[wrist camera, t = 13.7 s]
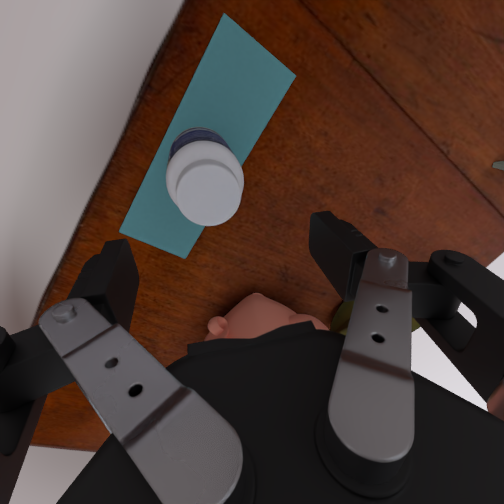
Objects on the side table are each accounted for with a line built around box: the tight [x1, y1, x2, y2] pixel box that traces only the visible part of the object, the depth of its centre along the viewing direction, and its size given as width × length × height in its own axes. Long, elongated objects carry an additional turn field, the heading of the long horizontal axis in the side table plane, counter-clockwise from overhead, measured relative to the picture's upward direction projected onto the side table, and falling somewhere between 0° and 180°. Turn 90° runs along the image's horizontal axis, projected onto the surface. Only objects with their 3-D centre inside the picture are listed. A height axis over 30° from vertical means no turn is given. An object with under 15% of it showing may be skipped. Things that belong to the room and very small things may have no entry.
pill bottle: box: [166, 127, 244, 226], centre depth 21 cm, size 5×5×10 cm
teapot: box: [204, 293, 330, 341], centre depth 33 cm, size 15×17×13 cm
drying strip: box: [119, 13, 296, 259], centre depth 26 cm, size 20×7×1 cm, turn 146°
